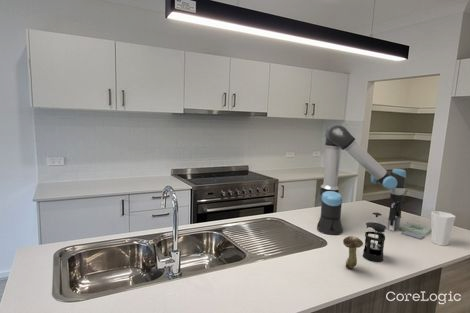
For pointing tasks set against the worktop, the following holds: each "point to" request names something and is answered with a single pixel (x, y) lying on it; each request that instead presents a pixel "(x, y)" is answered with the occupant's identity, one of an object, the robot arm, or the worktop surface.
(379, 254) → the french press
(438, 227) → the cup
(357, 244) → the mushroom
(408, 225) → the outlet plate
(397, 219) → the block
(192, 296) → the worktop surface
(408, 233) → the phone
